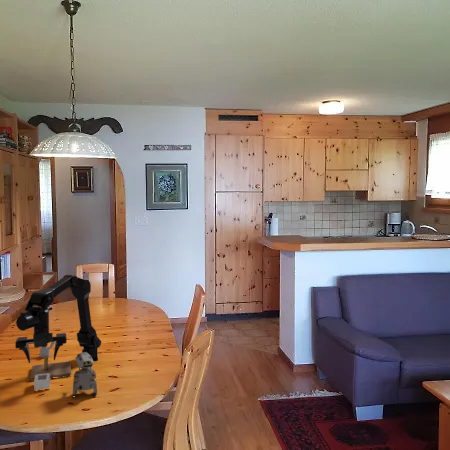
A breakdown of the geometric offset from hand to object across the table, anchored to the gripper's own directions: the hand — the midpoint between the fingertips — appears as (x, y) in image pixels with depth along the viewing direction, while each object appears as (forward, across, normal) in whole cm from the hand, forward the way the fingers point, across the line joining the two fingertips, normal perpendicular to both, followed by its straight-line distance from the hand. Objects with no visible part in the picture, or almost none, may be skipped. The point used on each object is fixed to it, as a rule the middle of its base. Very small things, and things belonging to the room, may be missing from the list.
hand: (42, 361), depth 175 cm
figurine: (+11, +16, -11) cm, 22 cm away
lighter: (+11, +1, +35) cm, 37 cm away
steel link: (+11, 0, 0) cm, 11 cm away
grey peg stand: (+11, +3, +14) cm, 18 cm away
